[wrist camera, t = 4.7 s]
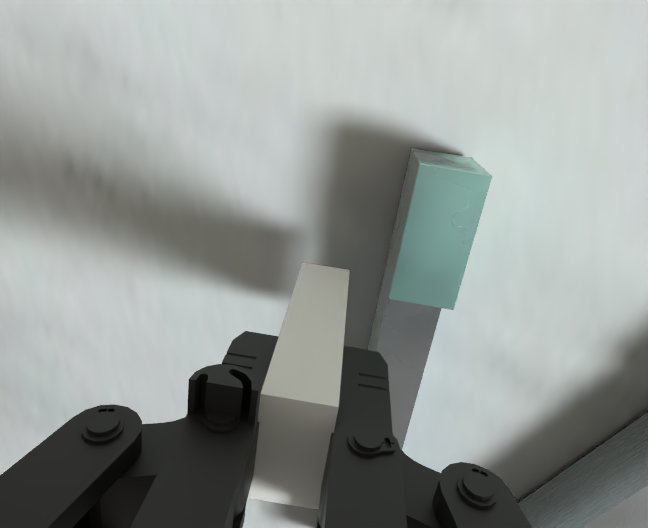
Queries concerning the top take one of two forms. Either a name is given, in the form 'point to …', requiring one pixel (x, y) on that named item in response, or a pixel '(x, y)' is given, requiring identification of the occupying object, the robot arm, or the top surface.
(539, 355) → the top surface
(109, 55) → the top surface
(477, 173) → the tongs free arm
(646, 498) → the arm
